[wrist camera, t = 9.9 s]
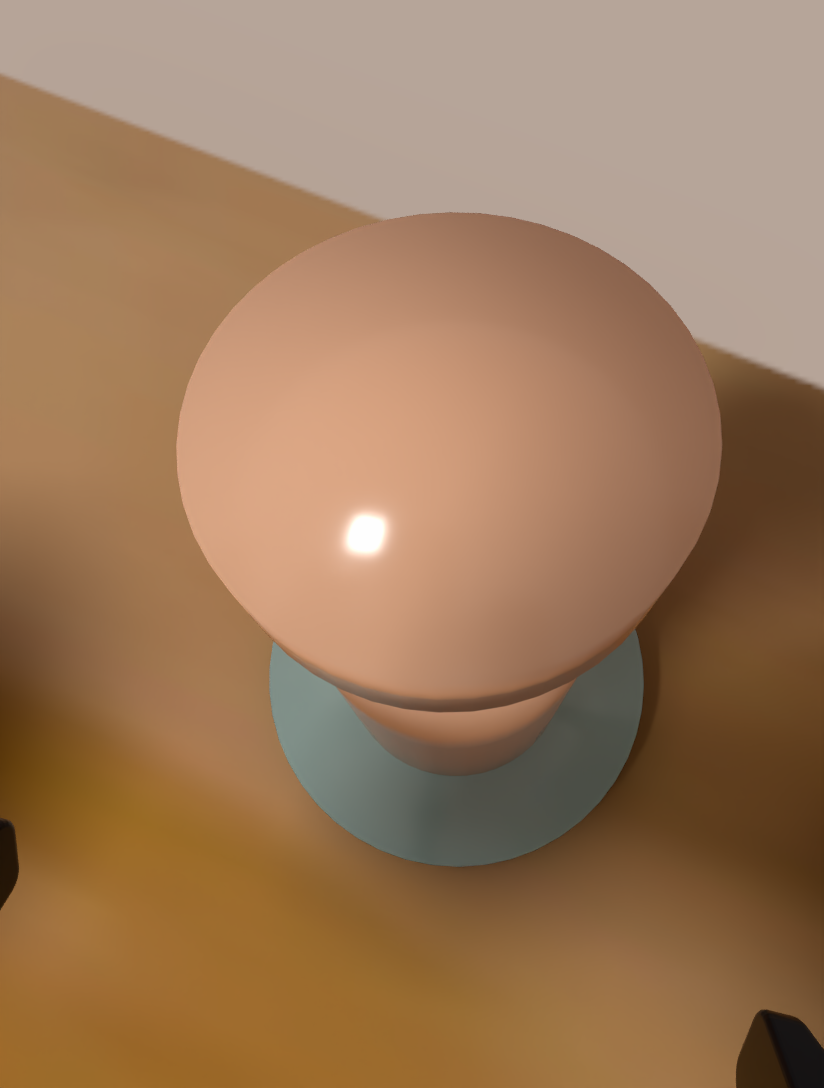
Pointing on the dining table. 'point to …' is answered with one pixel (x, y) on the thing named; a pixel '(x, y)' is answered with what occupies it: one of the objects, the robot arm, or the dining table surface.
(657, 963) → the dining table surface
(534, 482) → the mushroom-shaped peg
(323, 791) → the saucer
